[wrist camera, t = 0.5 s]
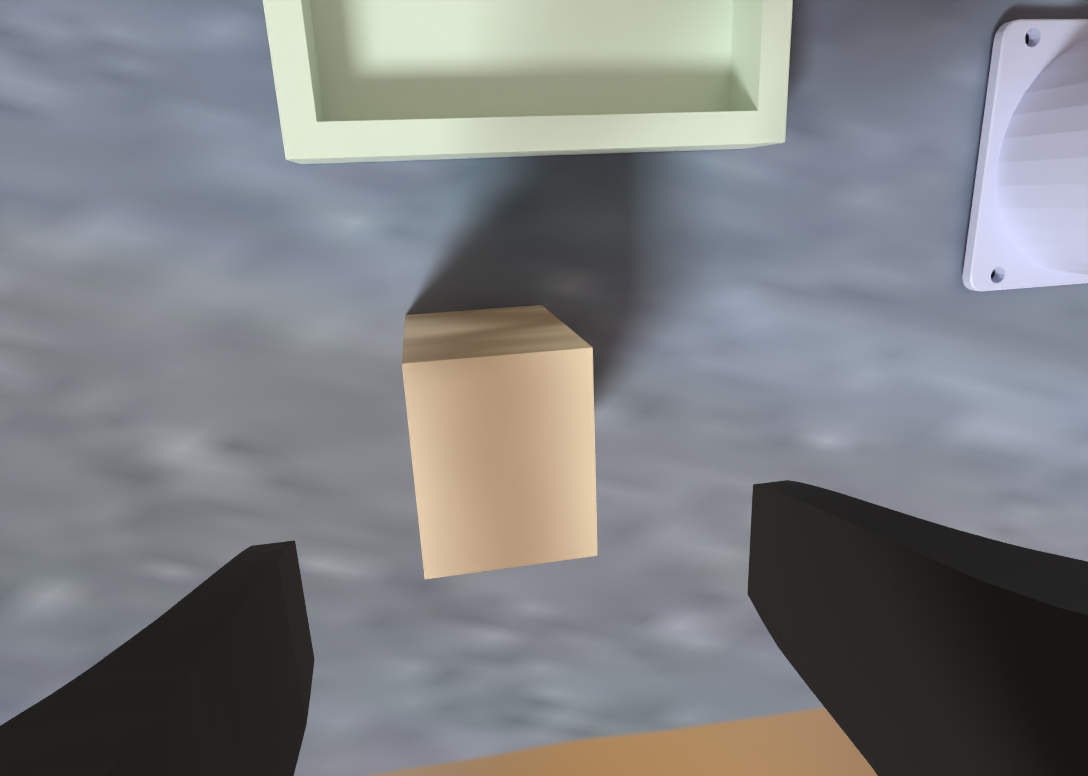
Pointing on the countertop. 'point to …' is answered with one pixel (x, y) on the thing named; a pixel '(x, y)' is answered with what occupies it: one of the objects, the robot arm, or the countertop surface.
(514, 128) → the tray
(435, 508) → the block
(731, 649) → the countertop surface
